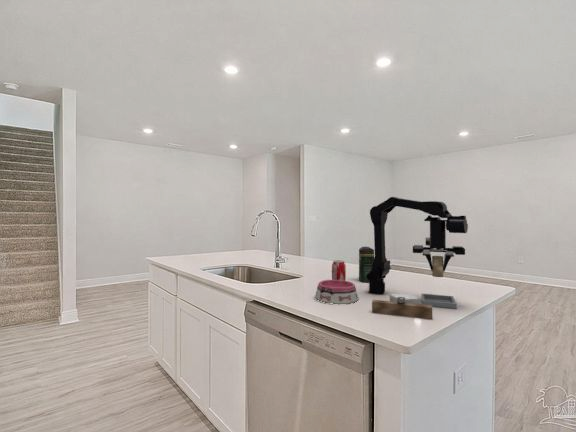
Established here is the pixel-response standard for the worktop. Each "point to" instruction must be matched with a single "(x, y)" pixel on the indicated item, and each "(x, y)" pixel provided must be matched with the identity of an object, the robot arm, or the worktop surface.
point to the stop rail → (402, 308)
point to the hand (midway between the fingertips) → (437, 271)
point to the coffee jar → (365, 262)
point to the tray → (439, 301)
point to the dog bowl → (336, 292)
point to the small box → (407, 298)
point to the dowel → (437, 266)
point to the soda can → (338, 270)
